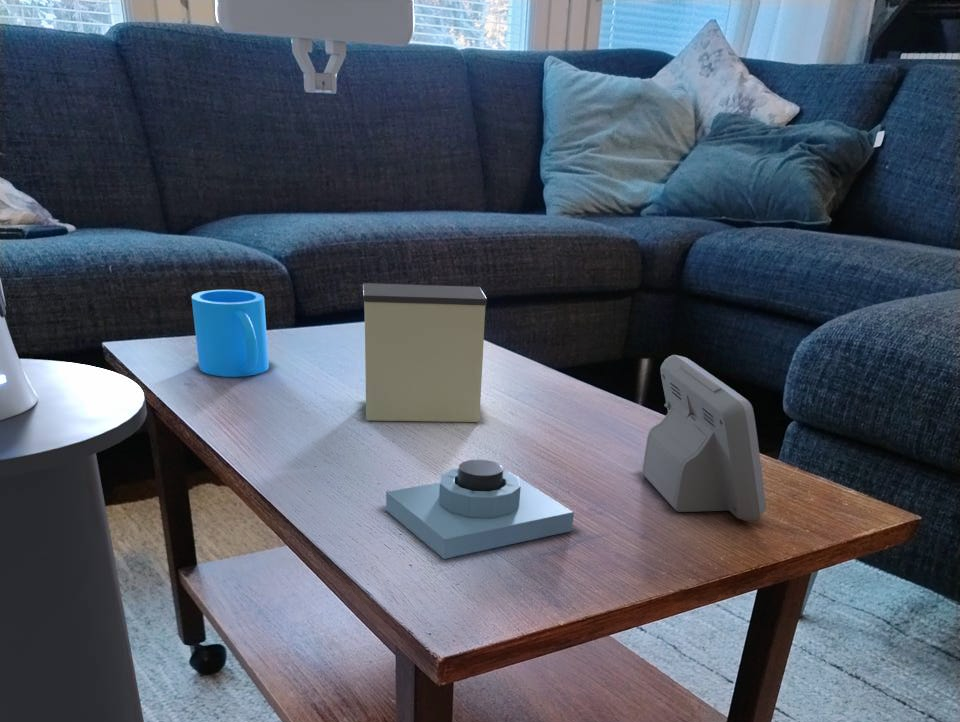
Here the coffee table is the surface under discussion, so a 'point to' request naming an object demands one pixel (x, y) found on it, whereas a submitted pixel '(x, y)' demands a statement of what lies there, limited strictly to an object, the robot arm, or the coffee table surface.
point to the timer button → (480, 475)
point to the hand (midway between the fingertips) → (320, 93)
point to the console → (423, 352)
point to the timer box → (477, 514)
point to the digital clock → (705, 445)
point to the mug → (230, 332)
